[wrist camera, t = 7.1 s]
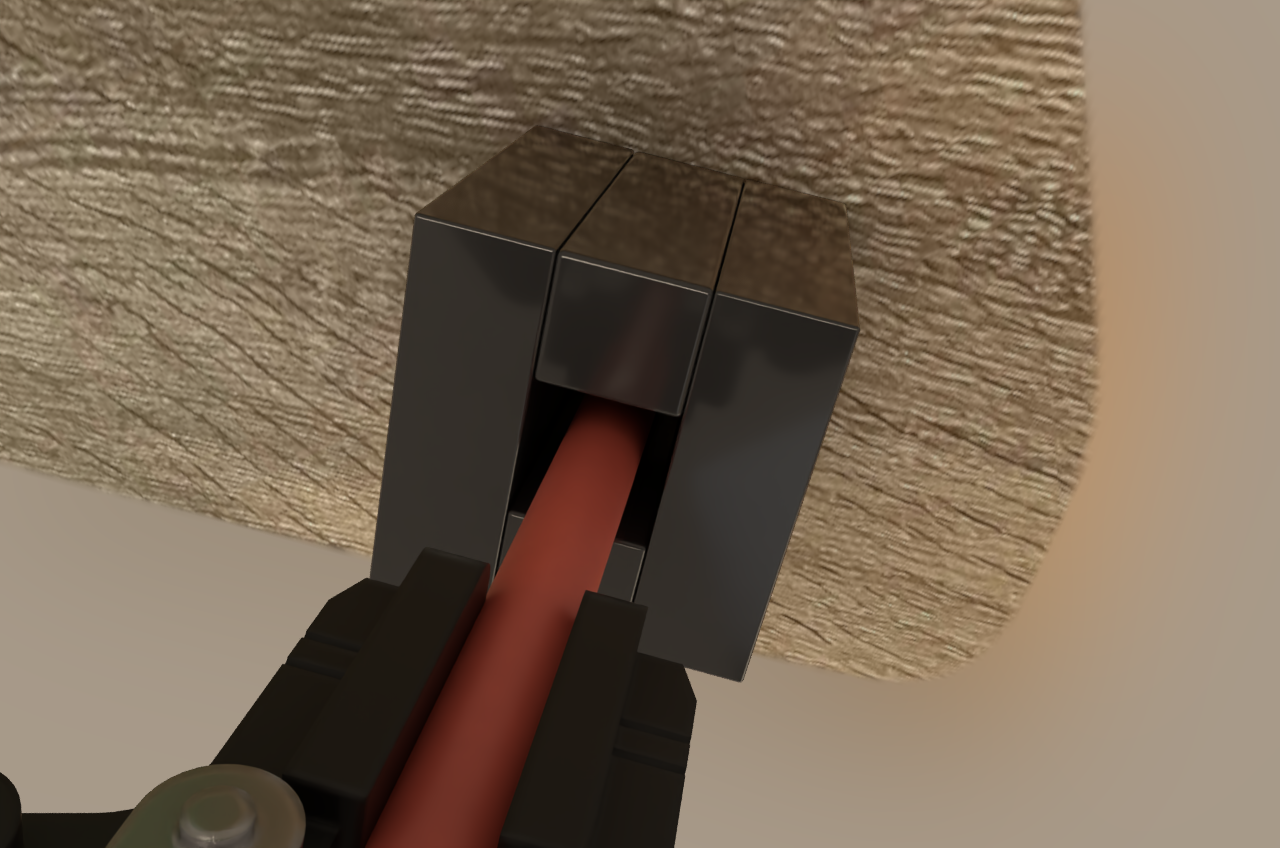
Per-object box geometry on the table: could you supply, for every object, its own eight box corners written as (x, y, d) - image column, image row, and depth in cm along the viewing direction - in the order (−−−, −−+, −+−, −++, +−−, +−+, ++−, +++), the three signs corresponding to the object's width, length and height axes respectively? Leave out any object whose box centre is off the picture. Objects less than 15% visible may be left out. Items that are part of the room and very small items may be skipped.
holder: (847, 203, 20) (861, 328, 14) (761, 478, 23) (742, 684, 17) (535, 124, 21) (413, 212, 14) (487, 405, 23) (367, 582, 17)
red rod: (692, 295, 22) (450, 1027, 7) (678, 349, 22) (425, 1132, 8) (634, 281, 22) (277, 977, 7) (622, 334, 22) (266, 1085, 8)
